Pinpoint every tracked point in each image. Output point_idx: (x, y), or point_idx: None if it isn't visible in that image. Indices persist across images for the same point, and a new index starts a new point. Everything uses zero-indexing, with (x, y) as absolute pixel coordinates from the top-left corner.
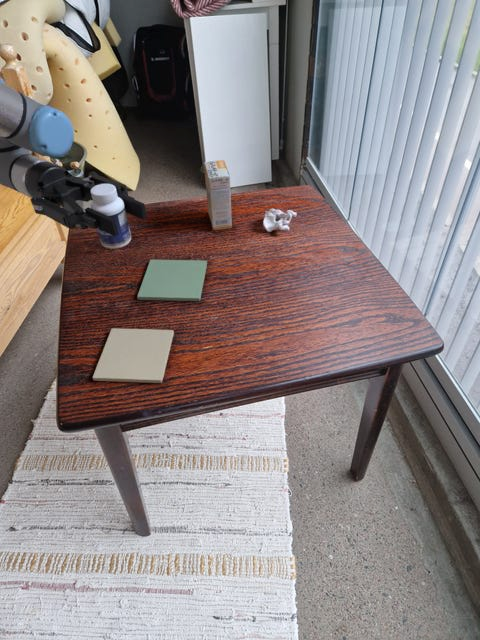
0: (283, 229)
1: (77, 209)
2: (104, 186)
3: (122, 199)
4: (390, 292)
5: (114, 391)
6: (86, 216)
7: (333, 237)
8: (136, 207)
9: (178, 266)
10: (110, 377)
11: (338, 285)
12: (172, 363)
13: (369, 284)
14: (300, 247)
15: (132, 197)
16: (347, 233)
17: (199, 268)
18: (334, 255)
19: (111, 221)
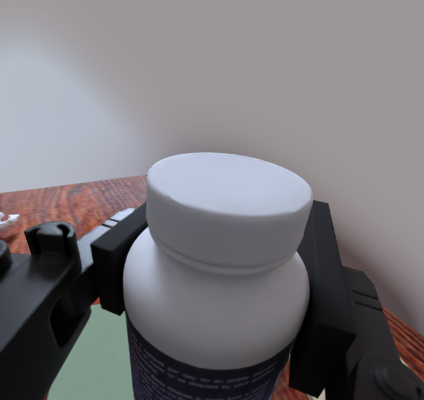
0: (16, 220)
1: (413, 393)
2: (192, 176)
3: None
4: (146, 177)
5: (403, 350)
6: (369, 320)
7: (45, 196)
8: None
9: (86, 359)
10: (401, 359)
11: (138, 195)
12: None
13: (136, 183)
14: (58, 216)
15: (116, 214)
16: (41, 189)
17: (100, 313)
18: (85, 196)
19: (327, 203)
